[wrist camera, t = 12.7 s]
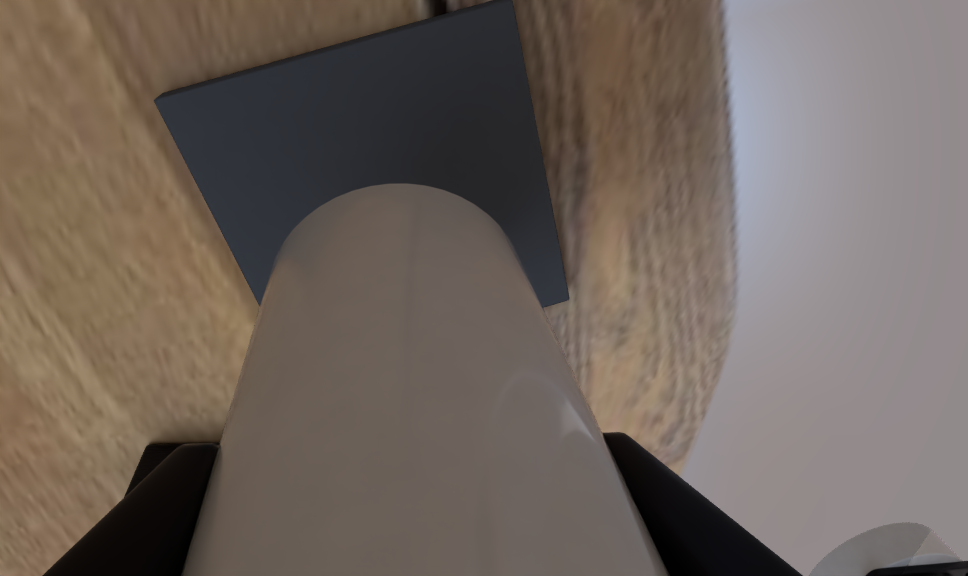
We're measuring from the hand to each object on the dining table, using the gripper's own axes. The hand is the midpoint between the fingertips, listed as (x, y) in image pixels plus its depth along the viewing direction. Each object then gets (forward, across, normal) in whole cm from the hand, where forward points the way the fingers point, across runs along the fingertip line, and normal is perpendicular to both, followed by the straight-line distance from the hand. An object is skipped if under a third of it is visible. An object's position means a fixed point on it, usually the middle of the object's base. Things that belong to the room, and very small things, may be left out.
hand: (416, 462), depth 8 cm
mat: (+8, 0, 0) cm, 9 cm away
